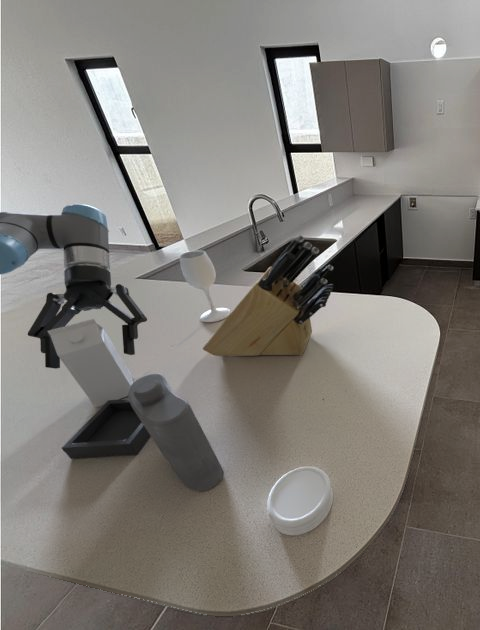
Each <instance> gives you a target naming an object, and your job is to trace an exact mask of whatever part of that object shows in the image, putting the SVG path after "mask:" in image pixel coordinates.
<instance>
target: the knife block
mask: <svg viewBox="0 0 480 630" xmlns="http://www.w3.org/2000/svg"><path fill="white" fill-rule="evenodd" d="M304 241H305V238H304V236H303V235H301V234H297V236H296V237H294V239H292V241H291V242H290V244H289V245H288V246H287V247H286V249H285V250H284V251H283V252H282V253H281V254H280V256H279V257H278V258H277V259H276V260H275V262H274V263H273V264H272V266H269V267H268V268H267V270H266V271H265V272H264V273H263V274H262V275H261V277H260V278H259V279H258V280H257V281H256V283H255V284H254V285H253V286H252V287H251V288H250V290H249V291H248V292H247V293H246V294H245V296H243V298H242V299H241V300H240V302H239V303H238V304H236V307H235V308H234V309H233V310H232V312H230V315H229V316H228V317H226V318H225V319H224V321H223V322H222V323H221V325H220V326H219V327H218V328H217V330H216V331H215V332H214V334H212V336H211V337H210V339H209V340H208V341H207V342H206V343H205V345H204V346H203V347H202V350H204V351H205V352H207V353H209V354H210V355H212V356H216V357H219V356H221V357H229V356H231V357H234V356H235V357H237V356H240V357H241V356H246V357H247V356H260V355H261V356H301V355H303V354H304V351H305V349H306V347H307V345H308V343H309V341H310V338H311V336H312V334H313V329H312V323H311V317H313V316H314V315H315V314H316V313H318V312H319V310H320V309H322V308H325V307H326V306H327V303H328V300H329V298H330V296H331V294H332V292H333V290H334V284H333V283H330V284H328V280H327V279H326V278H327V277H328V276H329V275H330V273H332V272H333V270H334V266H333V265H332V264H328V265H326V266H325V268H323V269H322V268H321V267H318V268H317V269H316V270H315V272H313V274H312V275H311V276H310V277H309V278H308V279H307V280H306V281H305V282H304V283H303V284H302V286H300V285H299V284H297V283H296V282H295V280H296V279H297V277H299V276H300V275H301V273H302V272H303V271H304V270H305V269H306V268H307V267H308V266H309V265H310V264H311V263H312V261H313V260H314V258H315V257H317V255H318V254H319V252H320V249H319V248H318V247H316V246H313V245H312V243H311V242H309V241H306V242H304ZM303 242H304V243H303ZM302 244H303V245H302ZM301 245H302V246H301ZM300 246H301V247H300Z"/></svg>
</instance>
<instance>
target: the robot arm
mask: <svg viewBox="0 0 480 630" xmlns="http://www.w3.org/2000/svg"><path fill="white" fill-rule="evenodd" d="M109 232H110V231H109V227H108V222H107V216H106V214H105V213H104V212H103V211H102V210H100V209H98V208H96V207H94V206H92V205H87V204H83V203H82V204H81V203H74V204H69V205H65V206H64V207H63V208H62V210H61V213H60V214H37V213H17V212H16V213H15V212H8V211H0V275H5V274H6V275H7V274H8V273H11V272H13V271H15V270H16V269H19V268H20V267H22V266H23V265H25V264H26V262H27V261H28V260H29V259H30V258H31V256H33V255H34V254H36V252H37V251H39V250H40V249H41V250H43V249H44V250H45V249H46V250H47V249H48V250H50V249H53V250H55V249H56V250H57V249H58V250H61V249H63V268H64V271H63V274H64V276H63V277H64V287H65V292H64V293H54V292H48V293H47V294H46V298H45V303H44V305H43V307H42V308H41V310H40V312H39V314H38V315H37V316H36V318H35V320H34V322H33V323H32V325H31V327H30V329H29V331H28V332H27V336H29V337H31V338H36V339H39V341H40V353H41V354H44V364H45V365H44V367H45V368H48V369H60V368H61V359H60V358H59V356H58V355H57V352H56V350H55V347H54V344H53V341H52V339H51V336H50V334H49V333H48V332H47V331H49V330H53V329H57V328H61V327H64V326H68V323H70V322H71V320H73V318H75V316H76V315H79V314H80V313H81V312H82V311H84V312H88V311H91V310H101V309H102V308H103V307H104V308H105V309H106V310H108V311H110V312H111V314H113V315H114V316H116V317H118V318H119V319H120V320H122V321H123V322H124V323H125V324H122V325H121V330H122V348H123V354H124V355H128V356H133V355H136V351H135V349H136V348H135V340H137V339H138V338H139V329H138V326H139V325H140V324H142V323H146V322H147V321H148V318H147V316H146V315H145V314H144V312H143V311H142V310H141V309H140V307H139V306H138V305H137V303H136V302H135V301H134V299H133V298H132V296H130V291H129V288H128V287H126V286H124V285H122V284H120V283H118V284H116V285H115V286H114V287H112V276H111V275H112V274H111V261H110V260H111V259H110V250H109V249H110V247H109V246H110V245H109V242H110V241H109ZM113 295H115V296H117V297H118V298H119V299H120V300H121V302H122V303H123V304H124V305H125V307H126V308H127V310H128V311H129V312H130V314H132V316H133V317H131V316H130V314H128V313H126V311H124V310H122V309H121V308H119V307H118V306H117V305H116V304H115V303H114V302H112V301H111V300H110V299H111V298H112V296H113ZM65 301H66V302H65Z"/></svg>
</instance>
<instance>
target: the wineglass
mask: <svg viewBox="0 0 480 630" xmlns="http://www.w3.org/2000/svg"><path fill="white" fill-rule="evenodd" d="M178 259H179V265H180V269H181V273H182V275H183V277H184V280H185V281H186V283H187V284H189V285H190V286H191V287H193V288H195V289H199V290H202V291H203V292H204V294H205V296H206V299H207V301H208V305H209V310H207V311H205V312H204V313H203V314H201V315H200V318H199V320H200V321H201V322H203V323H215V322H220V321H223V320H225V319H227V318H228V316H229V315H230V314H231V310H230V309H229V308H226V307H216V306H215V304H214V301H213V299H212V297H211V294H210V288H211V287H212V286H213V285H214V284H215V281H216V280H217V279H216V278H217V273H216V269H215V267H214V263H213V262H212V260H211V258H210V256H209V255H208V253H207V252H206V251H205V250H201V249H199V250H198V249H197V250H190V251H189V250H188V251H186V252H183V253H181V254H180V255H179V258H178Z"/></svg>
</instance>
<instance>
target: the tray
mask: <svg viewBox="0 0 480 630" xmlns="http://www.w3.org/2000/svg"><path fill="white" fill-rule="evenodd" d="M151 438H152V437H151V436H150V434H149V433H148V431H147V429H146V428H145V426H144V425H143V423H142V422H141V420H140V419H139V417H138V416H137V414H136V412H135V411H134V409H133V408H132V406H131V404H130V402H129V398H127V399H125V398H123V399H118V400H108V401H107V402H106V403H105V404H104V405H102V406H100V407H99V409H98V410H97V411H96V412H95V413H94V415H92V416H91V417H90V419H88V420H87V421H86V422H85V423H84V424H83V425H82V427H80V428H79V429H78V431H76V433H74V434H73V436H72V437H70V439H69V440H67V442H66V443H64V445H63V446H62V447H61V450H63V452H64V453H65V454H66V455H67V457H69V459H70V460H79V459H93V458H94V459H95V458H110V457H129V456H138V455H139V453H140V452H141V451H142V449H143V448H144V447H145V445H146V444H147V442H149V440H150V439H151Z"/></svg>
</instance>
